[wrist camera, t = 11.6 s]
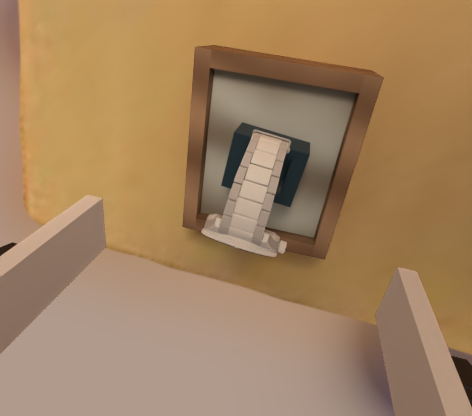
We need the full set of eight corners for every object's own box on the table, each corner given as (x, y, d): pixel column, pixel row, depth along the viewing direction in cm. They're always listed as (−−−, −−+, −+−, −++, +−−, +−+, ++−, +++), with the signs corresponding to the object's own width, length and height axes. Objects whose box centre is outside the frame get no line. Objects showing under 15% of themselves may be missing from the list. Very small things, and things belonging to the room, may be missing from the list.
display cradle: (214, 45, 28) (194, 46, 24) (371, 70, 27) (383, 77, 22) (199, 202, 35) (182, 226, 31) (323, 229, 34) (324, 259, 29)
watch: (224, 191, 29) (181, 266, 20) (247, 99, 26) (208, 137, 16) (286, 211, 29) (272, 296, 20) (319, 120, 25) (322, 172, 16)
